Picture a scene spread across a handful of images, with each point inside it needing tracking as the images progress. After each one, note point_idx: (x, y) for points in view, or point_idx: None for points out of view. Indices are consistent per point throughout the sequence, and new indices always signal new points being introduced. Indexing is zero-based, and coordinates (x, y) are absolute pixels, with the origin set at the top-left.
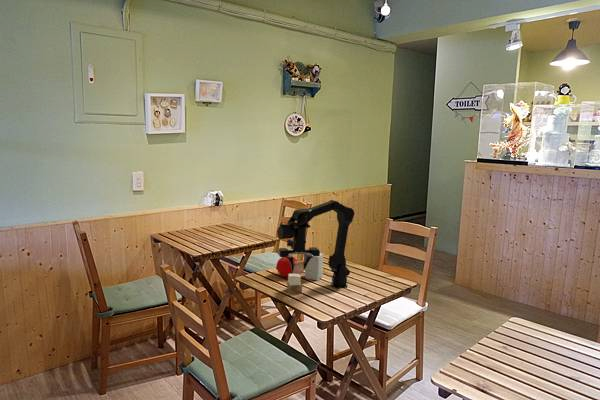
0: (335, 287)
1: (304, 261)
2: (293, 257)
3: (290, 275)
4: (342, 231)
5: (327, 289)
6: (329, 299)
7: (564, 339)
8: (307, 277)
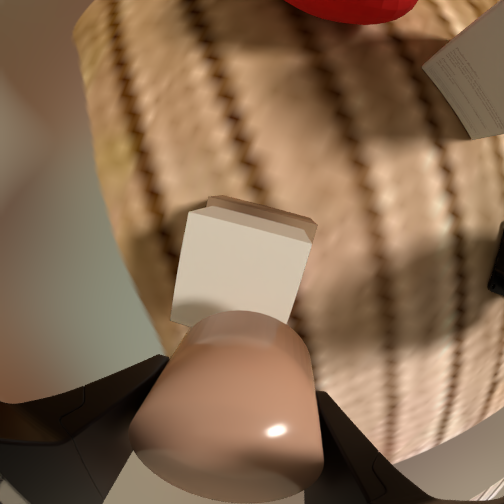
0: (488, 288)
1: (330, 496)
2: None
3: (190, 274)
4: None
5: (450, 292)
6: (370, 405)
7: (488, 498)
8: (435, 79)
